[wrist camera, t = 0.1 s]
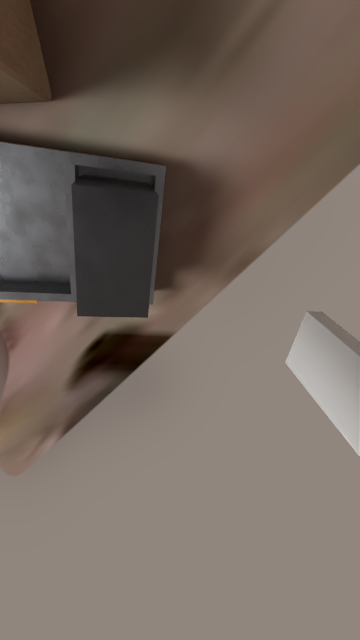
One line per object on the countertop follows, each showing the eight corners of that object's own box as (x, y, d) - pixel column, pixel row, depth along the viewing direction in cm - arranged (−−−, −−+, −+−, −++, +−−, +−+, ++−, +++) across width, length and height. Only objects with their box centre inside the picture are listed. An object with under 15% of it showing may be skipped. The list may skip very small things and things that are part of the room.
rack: (-88, 127, 27) (-191, 118, 18) (161, 164, 33) (179, 171, 24) (-45, 287, 35) (-101, 337, 26) (149, 295, 41) (159, 338, 32)
